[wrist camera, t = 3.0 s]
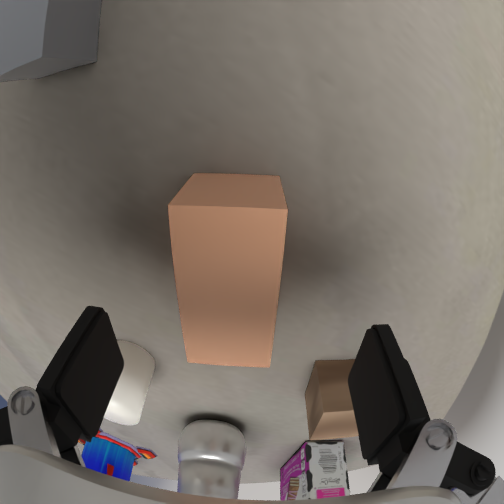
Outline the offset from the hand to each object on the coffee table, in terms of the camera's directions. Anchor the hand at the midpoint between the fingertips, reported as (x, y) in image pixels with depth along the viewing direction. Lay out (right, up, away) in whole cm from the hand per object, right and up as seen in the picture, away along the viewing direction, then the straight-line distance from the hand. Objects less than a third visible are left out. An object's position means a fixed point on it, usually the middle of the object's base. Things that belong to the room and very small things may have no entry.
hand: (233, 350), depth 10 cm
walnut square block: (+7, -6, +11) cm, 15 cm away
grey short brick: (-9, +15, -1) cm, 18 cm away
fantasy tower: (-20, -24, +22) cm, 38 cm away
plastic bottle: (-3, -14, +15) cm, 21 cm away
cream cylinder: (-9, -5, +10) cm, 14 cm away
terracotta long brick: (0, +4, +6) cm, 7 cm away
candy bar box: (+8, -22, +20) cm, 31 cm away
